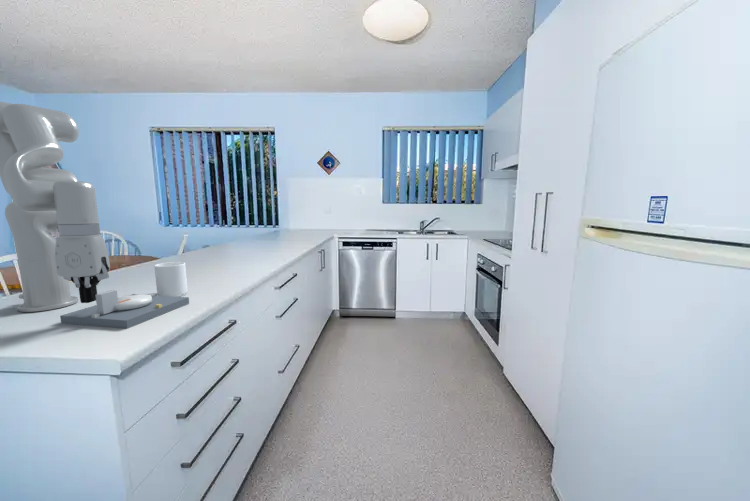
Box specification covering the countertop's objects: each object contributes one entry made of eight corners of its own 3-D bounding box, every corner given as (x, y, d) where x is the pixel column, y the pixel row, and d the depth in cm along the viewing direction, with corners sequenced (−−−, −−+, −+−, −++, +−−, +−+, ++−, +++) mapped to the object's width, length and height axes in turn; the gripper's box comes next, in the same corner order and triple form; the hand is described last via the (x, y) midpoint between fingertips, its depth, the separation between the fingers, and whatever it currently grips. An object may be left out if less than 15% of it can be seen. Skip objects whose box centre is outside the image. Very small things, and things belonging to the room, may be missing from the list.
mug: (176, 289, 112) (173, 260, 111) (192, 294, 105) (190, 263, 104) (148, 294, 105) (145, 263, 104) (164, 300, 98) (161, 267, 97)
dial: (131, 298, 92) (129, 281, 92) (160, 300, 91) (159, 283, 90) (84, 313, 80) (82, 293, 79) (117, 315, 78) (114, 295, 77)
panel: (61, 323, 79) (59, 312, 79) (133, 300, 98) (132, 291, 98) (127, 328, 76) (126, 317, 75) (189, 303, 95) (188, 294, 95)
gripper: (34, 232, 74) (45, 306, 77) (96, 232, 74) (105, 305, 77) (65, 230, 81) (74, 297, 84) (121, 230, 81) (129, 297, 84)
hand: (89, 301), depth 80 cm, fingers closed
